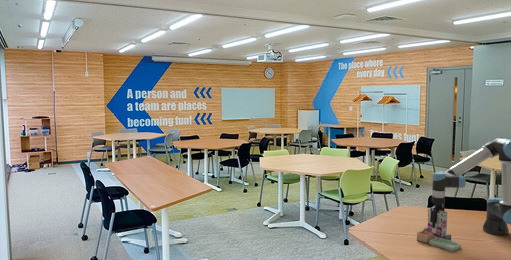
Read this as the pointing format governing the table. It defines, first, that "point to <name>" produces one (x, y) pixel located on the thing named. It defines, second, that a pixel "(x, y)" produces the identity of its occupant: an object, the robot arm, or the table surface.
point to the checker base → (445, 236)
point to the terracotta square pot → (424, 236)
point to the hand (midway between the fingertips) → (436, 231)
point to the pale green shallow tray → (445, 244)
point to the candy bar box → (438, 223)
